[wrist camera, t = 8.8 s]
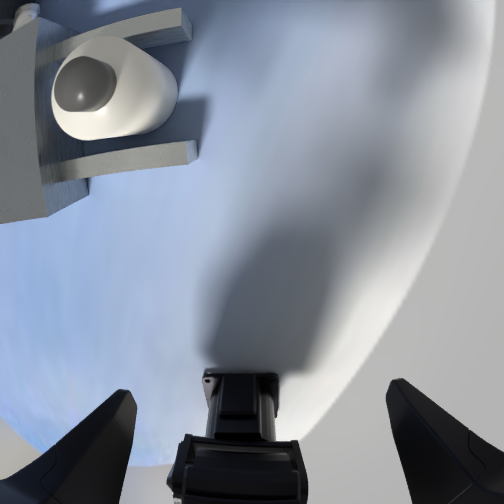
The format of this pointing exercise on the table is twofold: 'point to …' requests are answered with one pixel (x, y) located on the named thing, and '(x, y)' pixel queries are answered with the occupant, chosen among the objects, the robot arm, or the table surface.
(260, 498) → the robot arm
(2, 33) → the pipe connector
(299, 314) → the table surface
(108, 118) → the white cylinder
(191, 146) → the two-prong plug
